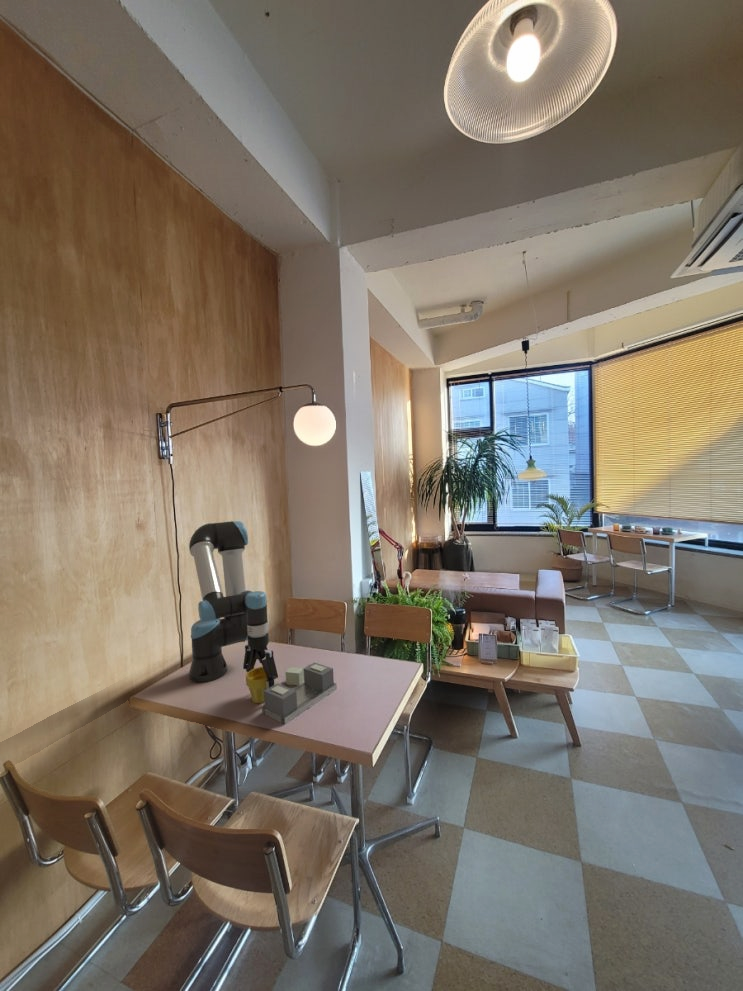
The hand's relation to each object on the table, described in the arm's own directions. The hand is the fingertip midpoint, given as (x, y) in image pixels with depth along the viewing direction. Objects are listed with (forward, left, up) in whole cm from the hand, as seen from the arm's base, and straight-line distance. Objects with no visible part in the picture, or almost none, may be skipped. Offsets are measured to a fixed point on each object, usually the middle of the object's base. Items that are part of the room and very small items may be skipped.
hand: (261, 692), depth 147 cm
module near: (+14, -3, 0) cm, 14 cm away
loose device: (+2, +15, -2) cm, 15 cm away
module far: (+14, +17, 0) cm, 22 cm away
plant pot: (0, 0, -3) cm, 3 cm away
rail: (+14, +7, -2) cm, 16 cm away
